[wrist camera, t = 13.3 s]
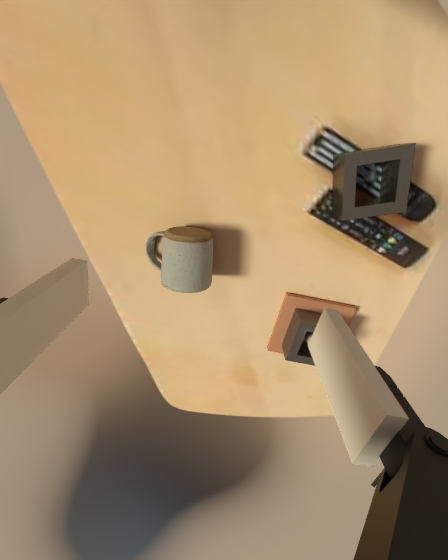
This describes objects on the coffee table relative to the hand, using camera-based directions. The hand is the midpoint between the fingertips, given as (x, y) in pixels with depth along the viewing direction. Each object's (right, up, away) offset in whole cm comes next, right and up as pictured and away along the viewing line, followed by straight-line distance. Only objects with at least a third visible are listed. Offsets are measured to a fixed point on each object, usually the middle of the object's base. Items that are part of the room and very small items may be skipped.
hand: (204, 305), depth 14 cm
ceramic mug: (-5, +6, +27) cm, 28 cm away
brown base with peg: (+16, -7, +32) cm, 37 cm away
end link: (+16, -8, +31) cm, 36 cm away
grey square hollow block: (+20, +15, +22) cm, 33 cm away
